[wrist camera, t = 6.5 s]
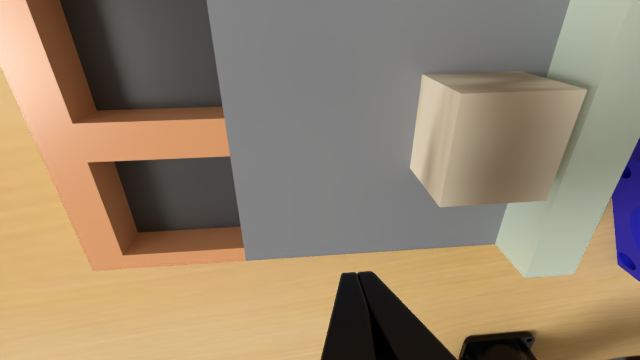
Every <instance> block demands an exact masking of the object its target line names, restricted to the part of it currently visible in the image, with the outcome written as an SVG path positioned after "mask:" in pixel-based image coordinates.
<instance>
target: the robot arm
mask: <svg viewBox="0 0 640 360" xmlns="http://www.w3.org/2000/svg"><path fill="white" fill-rule="evenodd" d="M534 340H535V338H534V337H533V335H532V334H531V333H520V334H508V335H497V336H486V337H474V338H468V339H466V340H465V341H464V343H463V346H462V349H461V352H460V356H459V359H458V360H537V359H536V358H535V356H534V355H533V353H532V352H531V351H530V348H531V346H532V344H533V342H534ZM321 360H457V359H456V358H455V357H454V356H453V355H452V354H451V353H450V351H449V350H448V349H447V348H446V347H445V346H444V345H443V344H442V343H441V342H440V341H439V340H438V339H437V338H436V337H435V336H434V335H433V334H432V333H431V332H430V331H429V330H428V329H427V328H426V327H425V325H424V324H423V323H422V322H421V321H420V320H419V319H418V318H417V317H416V316H415V315H414V314H413V313H412V312H411V311H410V310H409V309H408V308H407V307H406V306H405V305H404V304H403V303H402V302H401V300H400V299H399V298H398V297H397V296H396V295H395V294H394V293H393V292H392V291H391V290H390V289H389V288H388V287H387V286H386V285H385V284H384V283H383V282H382V281H381V280H380V279H379V278H378V277H377V276H376V274H375V273H373V272H371V271H366V272H359V273H355V272H351V273H342V275H341V278H340V282H339V286H338V290H337V294H336V299H335V303H334V307H333V311H332V315H331V319H330V323H329V328H328V332H327V336H326V340H325V344H324V348H323V352H322V356H321Z"/></svg>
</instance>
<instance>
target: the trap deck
mask: <svg viewBox="0 0 640 360" xmlns="http://www.w3.org/2000/svg"><path fill="white" fill-rule="evenodd" d="M0 65H1V68H2V70H3V72H4V74H5V77H6V79H7V81H8V83H9V86H10V88H11V90H12V92H13V94H14V97H15V99H16V101H17V103H18V106H19V108H20V110H21V112H22V114H23V117H24V119H25V121H26V123H27V126H28V128H29V130H30V132H31V134H32V137H33V139H34V141H35V143H36V146H37V148H38V150H39V152H40V155H41V157H42V159H43V161H44V163H45V166H46V168H47V170H48V172H49V175H50V177H51V179H52V181H53V183H54V186H55V188H56V190H57V192H58V195H59V197H60V199H61V201H62V203H63V206H64V208H65V210H66V212H67V215H68V217H69V219H70V221H71V224H72V226H73V228H74V230H75V232H76V235H77V237H78V239H79V241H80V244H81V246H82V248H83V250H84V252H85V255H86V257H87V259H88V261H89V264H90V266H91V268H92V270H93V271H97V270H112V269H128V268H143V267H158V266H173V265H188V264H203V263H218V262H233V261H248V260H263V259H278V258H294V257H309V256H324V255H339V254H354V253H369V252H384V251H399V250H414V249H429V248H444V247H459V246H475V245H490V244H495V245H496V246H497V247H498V248H499V249H500V250H501V252H502V253H503V254H504V255H505V256H506V257H507V258H508V260H509V261H510V262H511V263H512V264H513V265H514V266H515V268H516V269H517V270H518V271H519V272H520V273H521V274H522V276H523V277H524V278H530V277H543V276H557V275H570V274H574V273H575V271H576V269H577V267H578V265H579V263H580V261H581V259H582V257H583V254H584V252H585V250H586V248H587V246H588V244H589V242H590V240H591V238H592V236H593V234H594V232H595V229H596V227H597V225H598V223H599V221H600V219H601V217H602V215H603V213H604V211H605V209H606V206H607V204H608V202H609V200H610V198H611V196H612V194H613V192H614V190H615V188H616V186H617V184H618V181H619V179H620V177H621V175H622V173H623V171H624V169H625V167H626V165H627V163H628V161H629V159H630V156H631V154H632V152H633V150H634V148H635V146H636V144H637V142H638V140H639V138H640V0H0ZM515 71H522V72H526V73H529V74H533V75H537V76H540V77H544V78H548V79H551V80H555V81H559V82H562V83H566V84H569V85H573V86H577V87H580V88H584V89H587V92H586V95H585V97H584V100H583V103H582V106H581V108H580V111H579V114H578V116H577V119H576V122H575V124H574V127H573V130H572V133H571V135H570V138H569V141H568V143H567V146H566V149H565V152H564V154H563V157H562V160H561V162H560V165H559V168H558V170H557V173H556V176H555V179H554V181H553V184H552V187H551V189H550V192H549V195H548V198H547V200H546V201H535V202H519V203H502V204H485V205H468V206H451V207H439V206H438V204H437V203H436V202H435V200H434V199H433V198H432V196H431V195H430V194H429V193H428V191H427V190H426V189H425V187H424V186H423V185H422V183H421V182H420V181H419V179H418V178H417V177H416V175H415V174H414V173H413V171H412V170H411V169H410V163H411V156H412V148H413V140H414V133H415V125H416V117H417V110H418V102H419V95H420V87H421V79H422V74H447V73H481V72H515Z"/></svg>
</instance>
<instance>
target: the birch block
mask: <svg viewBox="0 0 640 360" xmlns="http://www.w3.org/2000/svg"><path fill="white" fill-rule="evenodd" d="M586 92H587V89H584V88H580V87H577V86H573V85H569V84H566V83H562V82H559V81H555V80H551V79H548V78H544V77H540V76H537V75H533V74H529V73H526V72H522V71H515V72H481V73H447V74H422V79H421V87H420V95H419V102H418V110H417V117H416V125H415V133H414V140H413V148H412V156H411V163H410V169H411V170H412V171H413V173H414V174H415V175H416V177H417V178H418V179H419V181H420V182H421V183H422V185H423V186H424V187H425V189H426V190H427V191H428V193H429V194H430V195H431V196H432V198H433V199H434V200H435V202H436V203H437V204H438V206H439V207H451V206H468V205H485V204H502V203H519V202H535V201H546V200H547V198H548V195H549V192H550V189H551V187H552V184H553V181H554V179H555V176H556V173H557V170H558V168H559V165H560V162H561V160H562V157H563V154H564V152H565V149H566V146H567V143H568V141H569V138H570V135H571V133H572V130H573V127H574V124H575V122H576V119H577V116H578V114H579V111H580V108H581V106H582V103H583V100H584V97H585V95H586Z"/></svg>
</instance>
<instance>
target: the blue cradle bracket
mask: <svg viewBox="0 0 640 360" xmlns="http://www.w3.org/2000/svg"><path fill="white" fill-rule="evenodd" d="M612 201H613V213H614V225H615V237H616V249H617V260H618V265H619V266H620V267H622V268H623V269H624V270H625V271H627V272H628V273H629V274H631V275H632V276H633V277H634V278H636V279H637V280H638V281H640V138H639V140H638V142H637V144H636V146H635V148H634V150H633V152H632V154H631V156H630V159H629V161H628V163H627V165H626V167H625V169H624V171H623V173H622V175H621V177H620V179H619V181H618V184H617V186H616V188H615V190H614V192H613V194H612Z"/></svg>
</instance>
